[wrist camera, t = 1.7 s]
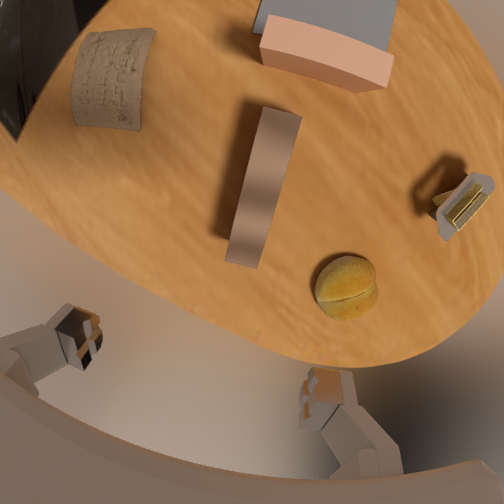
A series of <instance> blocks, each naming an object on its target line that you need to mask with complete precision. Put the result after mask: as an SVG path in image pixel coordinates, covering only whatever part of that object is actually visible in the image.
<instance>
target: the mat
mask: <svg viewBox="0 0 504 504" xmlns="http://www.w3.org/2000/svg"><path fill="white" fill-rule="evenodd" d="M396 4H397V0H262V2H261V5H260V9H259V12H258V15H257V18H256V22H255V25H254V28H253V32H252V33H255V34H260V35H263V32H264V29H265V25H266V22H267V19H268V15H269V14H270V15H275V16H279V17H284V18H288V19H292V20H296V21H300V22H304V23H307V24H311V25H314V26H318V27H321V28H324V29H327V30H330V31H333V32H336V33H339V34H342V35H345V36H348V37H350V38H353V39H356V40H358V41H361V42H363V43H366V44H368V45H370V46H373V47H375V48H377V49H380V50H382V51H384V52H386V51H387V47H388V42H389V38H390V33H391V29H392V24H393V19H394V15H395V10H396Z"/></svg>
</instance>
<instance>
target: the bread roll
mask: <svg viewBox="0 0 504 504" xmlns="http://www.w3.org/2000/svg"><path fill="white" fill-rule="evenodd" d="M375 278H376V270H375V267H374V266H373V264H372V263H370V262H369V261H367V260H365V259H362V258H359V257H354V256H343V257H340V258H338V259H336V260H334V261H332V262H331V263H329V264H328V265H327V266H326V267H325V268H324V269H323V270H322V271H321V273H320V274H319V276H318V278H317V281H316V286H315V296H316V299H317V301H318V304H319V306H320V308H321V310H322V311H323V312H324V313H325V314H326V315H327V316H329V317H331V318H333V319H335V320H343V321H346V320H353V319H356V318H359V317H361V316H363V315H365V314H366V313H368V312H369V311H370V310H371V309H372V308H373V306H374V305H375V303H376V301H377V297H378V289H377V285H376V283H375V281H374V280H375Z"/></svg>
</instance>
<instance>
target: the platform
mask: <svg viewBox="0 0 504 504" xmlns="http://www.w3.org/2000/svg"><path fill="white" fill-rule="evenodd" d="M494 188H495V183H494V181H493V179H492V177H490V176H488V175H484V174H481V173H477V172H473V171H472V172H471V173H470V174H469V175H467V176H466V177H465V178H464V179H463V180H462V181H461V182H460V183H459V185H458V186H457V187H456V188H455V189H454V190H451V191H448V192H445V193H443V194H440V195H438V196H435V197H434V198H433V197H432V198H433V199H432V198H431V199H432V200H433V202H434V203H435V204H436V206H437V208H436V209H435V210H434V211H433V212H432V213H431V214H430V216H431V217H432V218H433V219H434V220H435V221H437V226H438V233H439V235H440V236H441V238H442V239H443V240H444V241H447V240H449V239H450V238H451V237H452V236H453V235H454V234H455V233H456V231H457V230H458V231H460V230H461V229H462V228H463V227H464V226H465V224H466V223H467V222H468V221H469V220H470V219H471V218H472V217H473V216H474V215H475V213H476V212H477V211H478V210H479V209H480V208H481V207H482V206H483V204H484V203H485V202H486V201H487V200H488V198H489V195H490V193H491V192H492V191H493V190H494ZM484 201H485V202H484ZM483 202H484V203H483ZM477 209H478V210H477ZM476 210H477V211H476ZM475 211H476V212H475ZM464 223H465V224H464ZM463 224H464V225H463ZM462 225H463V226H462ZM461 226H462V227H461Z"/></svg>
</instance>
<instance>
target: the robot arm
mask: <svg viewBox="0 0 504 504" xmlns="http://www.w3.org/2000/svg"><path fill="white" fill-rule="evenodd" d="M99 324H100V319H99V316H98V315H96V314H94V313H92V312H89V311H87V310H84V309H81V308H79V307H76V306H74V305H72V304H69V303H67V304H65V305H64V306H63V307H62V308H61V309H60V310H59V311H58V312H57V313H56V314H55V315H54V316H53V317H52V318H51V319H50V320H49V321H48V322H47V323H46V324H45V325H42V324H41V325H37V326H35V327H31V328H28V329H26V330H23V331H19V332H16V333H13V334H11V335H7V336H4V337H1V338H0V504H504V490H503V487H502V483H501V481H500V478H499V477H498V476H497V475H496V474H495V473H494V472H493V471H492V470H491V469H490V468H489V467H488V466H487V465H486V464H485V463H483V462H482V461H480V460H477V459H476V460H475V459H474V460H469V461H466V462H462V463H459V464H455V465H451V466H447V467H443V468H438V469H433V470H428V471H423V472H418V473H412V474H405V475H404V474H403V468H402V463H401V457H400V452H399V447H398V445H397V444H396V443H395V442H394V441H393V440H392V439H391V438H390V437H389V436H388V435H387V433H386V432H385V431H384V430H383V429H382V428H381V427H380V426H379V425H378V424H377V423H376V422H375V420H374V419H372V417H371V416H370V415H369V414H368V413H367V412H366V410H365V409H364V408H363V407H362V406H358V403H357V398H356V392H355V387H354V381H353V376H352V373H351V372H350V371H340V370H338V371H337V370H330V369H322V368H314V367H312V368H311V369H310V370H309V372H308V379H307V380H306V381H304V382H303V385H302V387H301V390H300V395H299V405H300V407H301V408H302V410H301V411H300V413H299V429H308V430H316V431H321V434H322V435H323V437H324V439H325V440H326V442H327V443H328V445H329V447H330V448H331V450H332V451H333V453H334V454H335V456H336V457H337V459H338V461H339V462H340V464H341V466H342V467H341V468H340V469H338V470H337V471H336V472H335V473H334V474H332V475H331V476H330V480H307V479H290V478H278V477H268V476H259V475H253V474H246V473H239V472H234V471H229V470H223V469H218V468H214V467H209V466H205V465H200V464H196V463H192V462H188V461H185V460H181V459H177V458H174V457H171V456H167V455H164V454H161V453H158V452H155V451H151V450H149V449H145V448H143V447H140V446H137V445H135V444H132V443H129V442H127V441H124V440H122V439H119V438H117V437H114V436H112V435H109V434H107V433H105V432H103V431H101V430H98V429H96V428H94V427H92V426H90V425H88V424H86V423H84V422H82V421H80V420H78V419H76V418H74V417H72V416H70V415H68V414H66V413H64V412H63V411H61V410H59V409H57V408H55V407H53V406H52V405H50V404H48V403H47V402H45V401H43V400H41V399H40V398H39V397H38V396H39V391H38V389H37V388H36V386H35V384H34V383H35V382H37V381H39V380H41V379H43V378H45V377H46V376H48V375H50V374H52V373H54V372H55V371H57V370H59V369H61V368H63V367H65V366H66V365H68V364H69V365H71V366H74V367H76V368H78V369H81V370H83V371H85V369H86V368H87V366H88V365H89V363H90V362H91V361H92V357H91V355H92V354H95V353H97V352H98V350H99V349H100V347H101V344H102V341H103V334H102V330H101V329H100V328H99V326H98V325H99Z"/></svg>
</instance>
